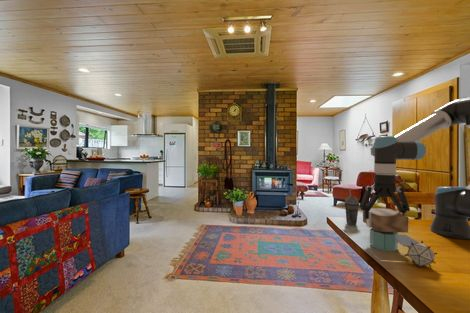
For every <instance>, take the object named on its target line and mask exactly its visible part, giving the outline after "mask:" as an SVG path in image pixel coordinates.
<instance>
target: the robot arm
mask: <svg viewBox="0 0 470 313" xmlns="http://www.w3.org/2000/svg"><path fill="white" fill-rule="evenodd" d="M459 124H460V125H461V124H465V127H466V128H468V129H469V130H470V96H465V97H460V98H457V99H454V100H453V101H450V102H448V103H446V104H444V105H443V106H441V107H439V108H437V109H435V110H433V111H432V112H431V113H430V115H429V116H428V117H426V118H424V119H422V120H420V121H418V122H417V123H415V124H413V125H412V126H410V127H408V128H407V129H405V130H403V131H401V132H400V133H398V134H396V135H393V136H392V135H390V136H389V135H383V136H377V137H375V139H374V144H373V145H372V147H371V154H372V156H373V157H374V160H373V161H374V164H373V166H374V167H373V170H374V171H373V173H375V174H374V175H373V184H374V185H372V186H369V185H366V186H365V192H364V195H363V197H362V199H361V202H360V203H359V208H360V209H361V210H362V211H363V210H364V217H365V218H366V223H365V224H366V227H368V229H369V228H370V229H371V228H372V227H371V213H372V212H371V211H370V209H371V208H374V205H375V204H376V203H377V201H378V200H379V199H380V198H385V197H386V198H390V200H391V201H392V202H393V204H394V205H395V207H396V208H397V210H395V211H396V212H398V213H400V214H403V215H405V214H406V213H407V212H410V210H411V209H410V205H409V203H408V200H407V197H406V195H405V188H404V187H403V186H396V183H397V181H396V180H397V179H396V178H397V176H396V174H397V160H405V161H406V160H412V161H416V160H421V159H423V158H424V157H425V156H426V153H427V147H426V145H425V144H424V143H423V142H421V141H422V140H424V139H425V138H427V137H429V136H432V135H433V134H435V133H436V132H438V131H439V130H441V129H443V130H445V129H448V128H450V127H451V126H454V125H459ZM373 191H374V193H373V194H372V192H373ZM395 192H396V193H397V195H398V198H399V200H398V198H397V196H396V194H395ZM371 194H372V196H371ZM370 197H371V198H370ZM434 198H435V199H434V200H435V201H434V202H435V204H434V208H435V210H434V211H435V212H434V217H433V220H432V222H431V224H430V226H429V229H430V232H432V233H434V234H436V235H439V236H442V237H446V238H452V239H459V240H470V223H469V218H470V184H468V185H466V186H438V187H436V189H435V195H434Z"/></svg>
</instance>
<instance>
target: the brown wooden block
mask: <svg viewBox="0 0 470 313" xmlns="http://www.w3.org/2000/svg"><path fill="white" fill-rule="evenodd" d="M370 211H371V212H372V213H371V228H373V229H375V230H376V231H382V232H397V233H409V216H407V215H406V214H404V215H403V214H400V213H398V212H396V211H397V210H394V209H391V208H374V207H372V208H371V209H370ZM362 222H363V223H364V224H366V218H365V217H364V210H363V209H362Z"/></svg>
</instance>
